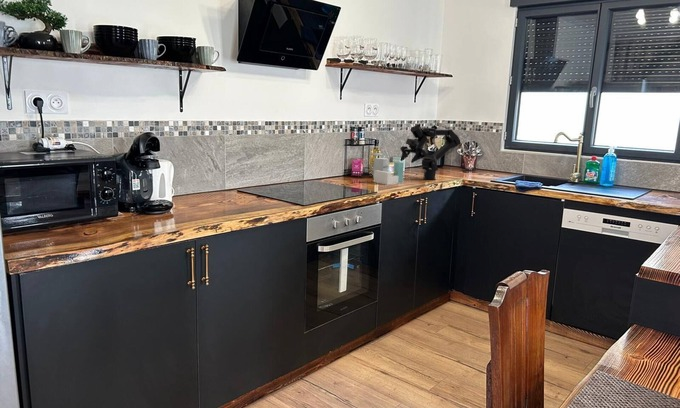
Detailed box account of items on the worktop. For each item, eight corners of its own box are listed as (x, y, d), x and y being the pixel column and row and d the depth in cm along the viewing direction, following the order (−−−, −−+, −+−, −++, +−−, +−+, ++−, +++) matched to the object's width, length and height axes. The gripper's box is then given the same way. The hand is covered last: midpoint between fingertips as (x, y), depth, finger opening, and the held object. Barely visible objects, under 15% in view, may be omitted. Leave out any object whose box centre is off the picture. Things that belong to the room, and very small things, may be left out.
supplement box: (382, 178, 324) (383, 159, 321) (372, 177, 328) (373, 158, 326) (388, 177, 330) (389, 158, 327) (378, 176, 334) (379, 157, 332)
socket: (385, 181, 313) (386, 169, 312) (399, 183, 304) (400, 172, 303) (373, 182, 307) (374, 170, 306) (387, 184, 298) (387, 172, 297)
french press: (373, 173, 350) (374, 137, 345) (388, 175, 343) (390, 138, 339) (365, 174, 342) (367, 137, 337) (380, 176, 335) (382, 138, 331)
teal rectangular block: (397, 181, 314) (398, 162, 312) (402, 182, 311) (403, 162, 309) (391, 181, 311) (392, 162, 309) (395, 182, 308) (397, 163, 306)
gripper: (403, 133, 320) (389, 151, 316) (425, 135, 306) (411, 153, 301) (411, 145, 327) (397, 163, 322) (433, 147, 312) (419, 166, 307)
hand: (406, 161), depth 313 cm, fingers open, 9 cm apart
